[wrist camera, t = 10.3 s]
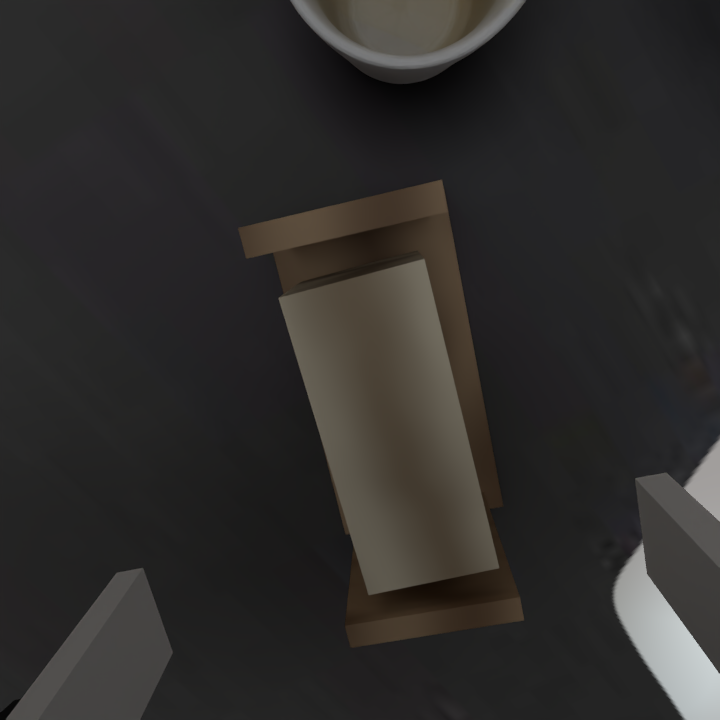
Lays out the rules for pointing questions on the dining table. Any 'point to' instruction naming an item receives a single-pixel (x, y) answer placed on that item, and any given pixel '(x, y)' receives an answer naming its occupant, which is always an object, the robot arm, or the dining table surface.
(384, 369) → the beige wooden block
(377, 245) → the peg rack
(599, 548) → the dining table surface
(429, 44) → the mug
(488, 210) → the dining table surface
